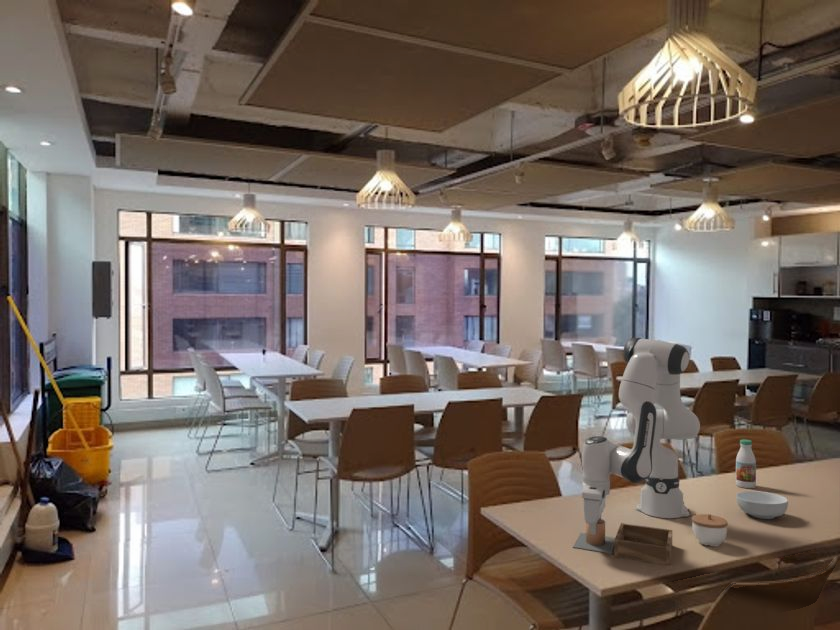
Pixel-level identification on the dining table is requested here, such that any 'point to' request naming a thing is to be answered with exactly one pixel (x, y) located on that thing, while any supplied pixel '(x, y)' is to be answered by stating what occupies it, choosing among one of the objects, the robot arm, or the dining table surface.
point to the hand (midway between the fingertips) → (595, 529)
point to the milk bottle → (745, 465)
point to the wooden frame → (641, 549)
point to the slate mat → (584, 545)
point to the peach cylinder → (599, 536)
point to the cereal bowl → (762, 504)
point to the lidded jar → (709, 529)
